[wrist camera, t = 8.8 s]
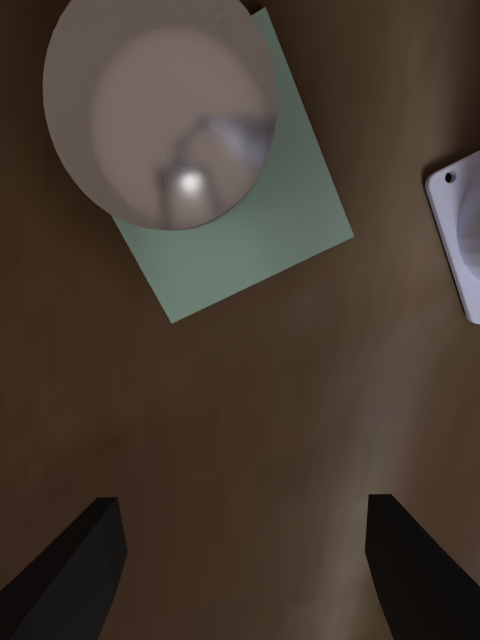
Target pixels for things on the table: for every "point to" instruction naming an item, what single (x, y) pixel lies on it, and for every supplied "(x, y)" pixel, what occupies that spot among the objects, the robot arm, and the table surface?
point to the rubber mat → (250, 216)
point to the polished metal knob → (161, 107)
